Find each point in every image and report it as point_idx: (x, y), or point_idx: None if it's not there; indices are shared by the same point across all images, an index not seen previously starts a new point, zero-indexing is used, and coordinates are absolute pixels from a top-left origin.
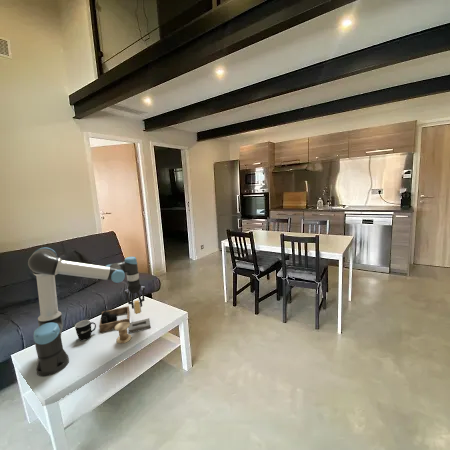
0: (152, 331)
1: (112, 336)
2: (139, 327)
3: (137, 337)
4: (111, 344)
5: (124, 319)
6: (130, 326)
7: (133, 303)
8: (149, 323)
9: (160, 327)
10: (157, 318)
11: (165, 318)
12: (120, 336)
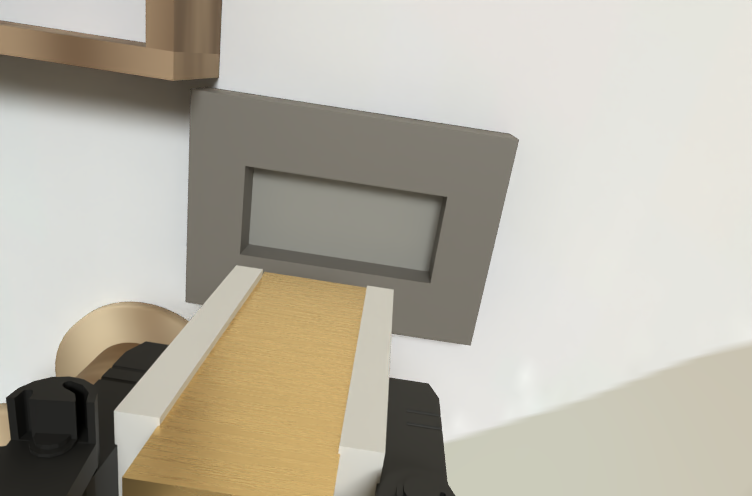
0: (460, 410)
1: (2, 234)
2: None
3: None
4: (16, 386)
5: (94, 56)
6: (213, 212)
7: (123, 456)
8: (473, 299)
9: (570, 387)
10: (636, 136)
11: (731, 214)
12: None
